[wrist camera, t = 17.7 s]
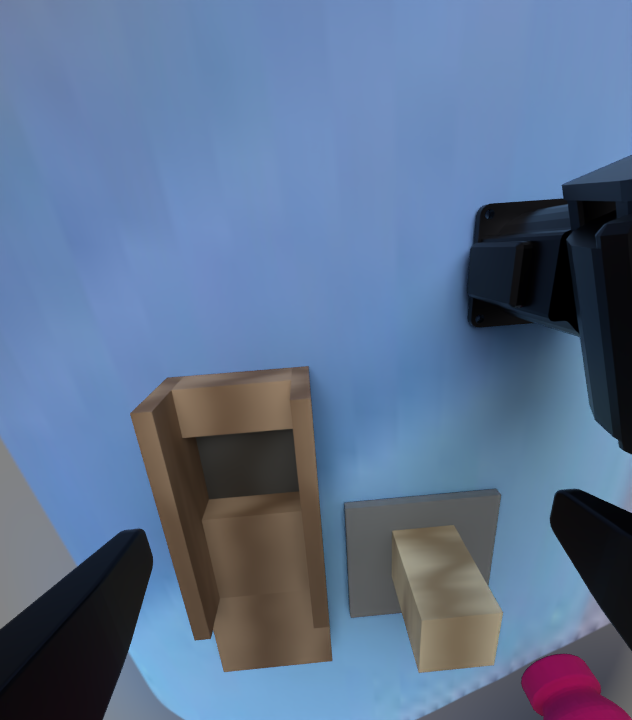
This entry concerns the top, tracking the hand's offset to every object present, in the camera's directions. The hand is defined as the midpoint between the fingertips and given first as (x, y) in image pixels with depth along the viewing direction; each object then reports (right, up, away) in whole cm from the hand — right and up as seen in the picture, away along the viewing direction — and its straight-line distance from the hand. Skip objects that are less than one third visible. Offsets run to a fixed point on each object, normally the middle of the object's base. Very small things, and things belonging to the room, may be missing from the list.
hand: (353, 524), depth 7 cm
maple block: (+7, -11, +17) cm, 21 cm away
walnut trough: (-5, -8, +16) cm, 18 cm away
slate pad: (+7, -11, +18) cm, 22 cm away
